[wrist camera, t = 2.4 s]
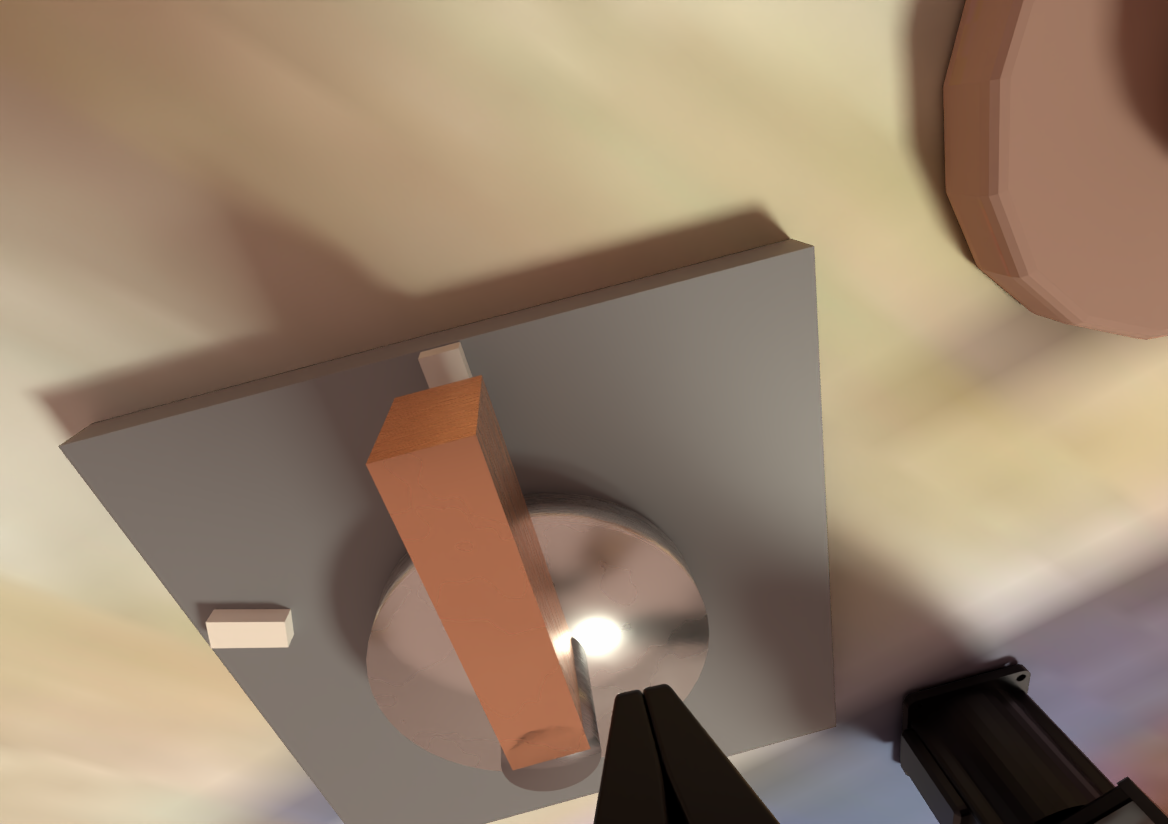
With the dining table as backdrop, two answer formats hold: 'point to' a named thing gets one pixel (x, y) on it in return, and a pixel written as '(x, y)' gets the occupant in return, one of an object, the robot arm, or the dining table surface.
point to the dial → (515, 601)
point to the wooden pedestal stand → (1064, 156)
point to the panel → (542, 465)
